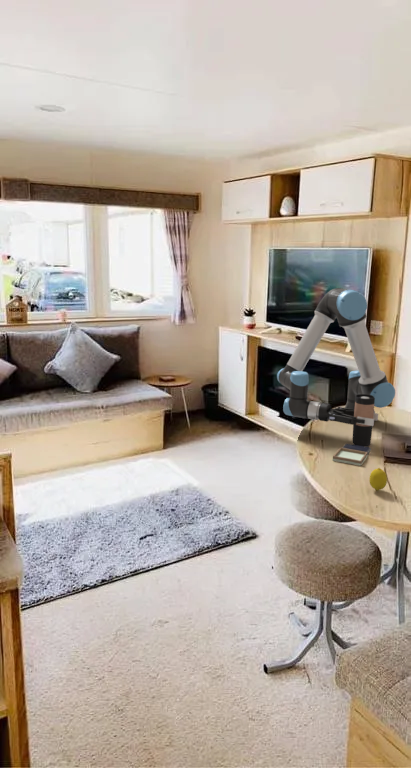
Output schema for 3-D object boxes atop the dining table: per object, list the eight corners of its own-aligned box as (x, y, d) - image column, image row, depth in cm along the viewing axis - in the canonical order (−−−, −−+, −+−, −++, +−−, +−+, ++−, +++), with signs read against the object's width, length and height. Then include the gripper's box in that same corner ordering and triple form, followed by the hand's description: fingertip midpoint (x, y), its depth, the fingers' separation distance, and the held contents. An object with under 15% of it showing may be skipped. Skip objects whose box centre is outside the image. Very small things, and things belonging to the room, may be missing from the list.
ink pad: (345, 446, 225) (345, 442, 225) (370, 450, 221) (370, 447, 221) (340, 451, 219) (340, 448, 219) (366, 456, 214) (366, 453, 214)
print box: (339, 451, 219) (340, 447, 219) (367, 456, 214) (367, 452, 214) (332, 460, 210) (332, 455, 210) (360, 465, 205) (361, 461, 205)
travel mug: (347, 443, 229) (351, 396, 224) (358, 439, 233) (362, 393, 228) (363, 448, 223) (367, 400, 218) (374, 444, 228) (379, 396, 223)
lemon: (366, 491, 184) (368, 468, 182) (371, 485, 188) (373, 463, 186) (383, 495, 181) (385, 472, 179) (387, 489, 185) (390, 467, 183)
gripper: (326, 413, 243) (380, 421, 233) (312, 426, 226) (369, 435, 215) (327, 397, 241) (381, 404, 231) (313, 408, 224) (371, 417, 214)
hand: (375, 419), depth 223 cm, fingers closed on travel mug, 7 cm apart
